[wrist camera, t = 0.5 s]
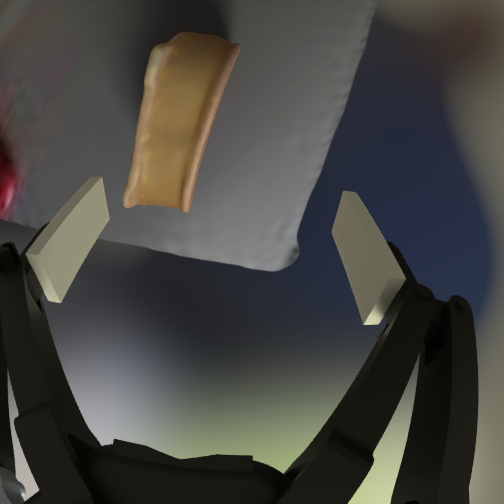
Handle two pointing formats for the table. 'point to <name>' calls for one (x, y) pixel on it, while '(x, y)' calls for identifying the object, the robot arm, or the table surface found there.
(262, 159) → the table surface
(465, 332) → the robot arm
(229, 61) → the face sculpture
